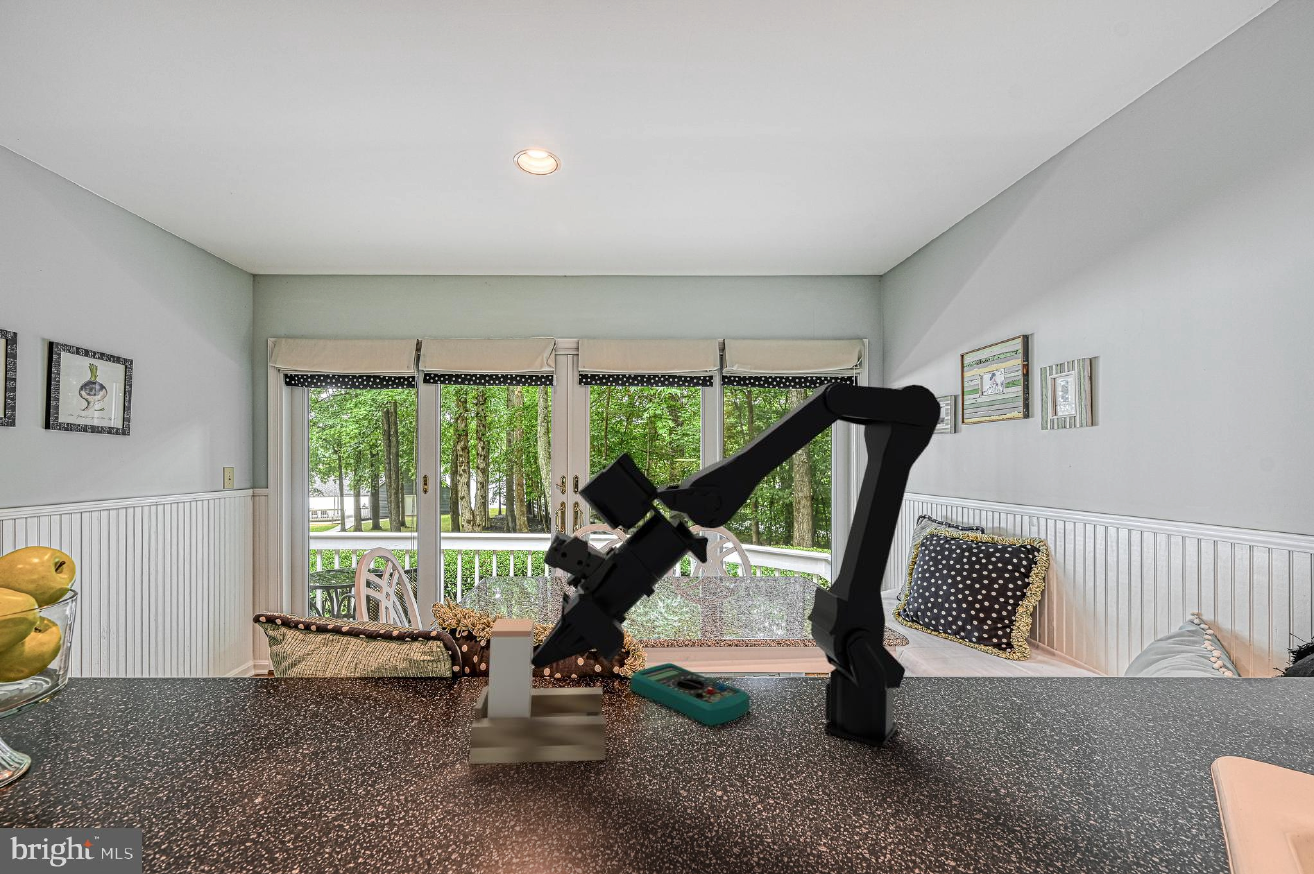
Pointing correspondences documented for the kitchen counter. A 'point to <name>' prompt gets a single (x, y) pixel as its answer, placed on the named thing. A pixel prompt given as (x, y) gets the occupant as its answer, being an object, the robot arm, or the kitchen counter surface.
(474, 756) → the open taupe tray
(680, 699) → the digital multimeter
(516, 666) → the switch tab
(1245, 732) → the kitchen counter surface
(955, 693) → the kitchen counter surface
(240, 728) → the kitchen counter surface
